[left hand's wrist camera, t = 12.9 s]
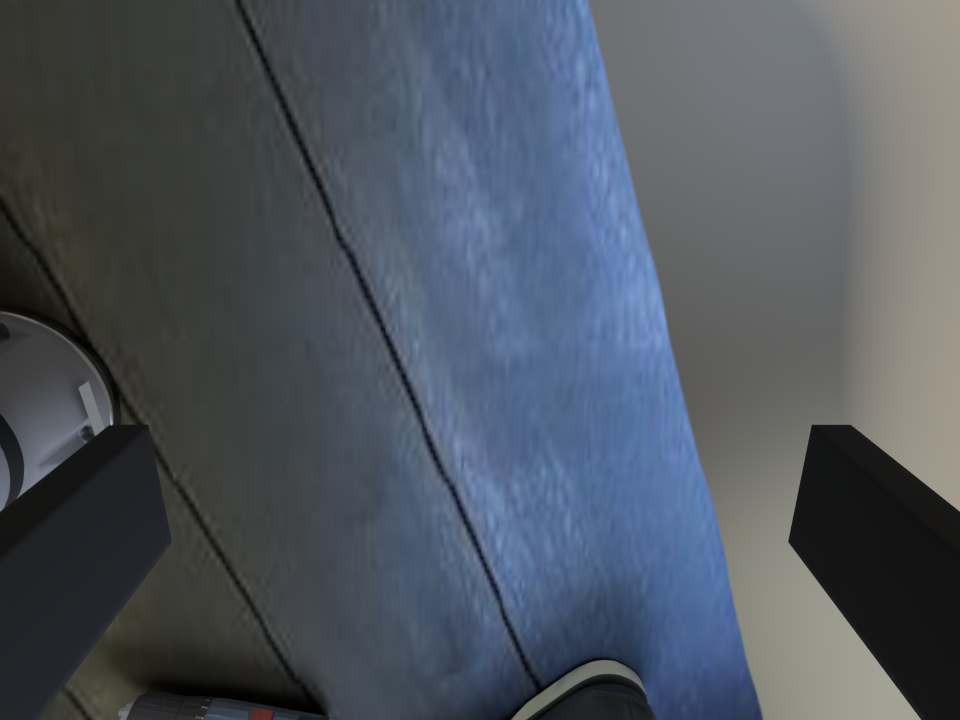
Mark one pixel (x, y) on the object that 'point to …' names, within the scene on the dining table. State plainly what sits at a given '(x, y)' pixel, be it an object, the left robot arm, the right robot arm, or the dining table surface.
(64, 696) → the dining table surface
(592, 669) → the boat shoe
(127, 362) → the dining table surface
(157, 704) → the power drill
